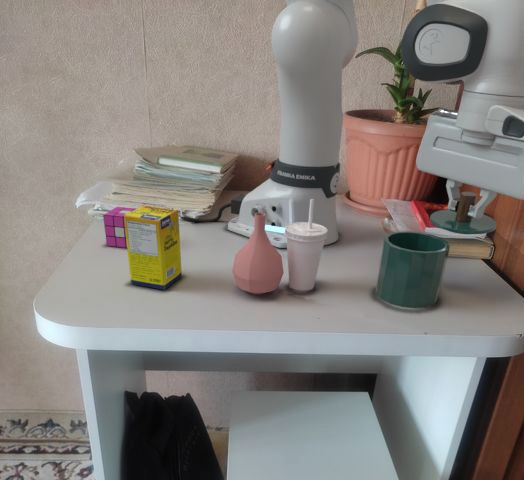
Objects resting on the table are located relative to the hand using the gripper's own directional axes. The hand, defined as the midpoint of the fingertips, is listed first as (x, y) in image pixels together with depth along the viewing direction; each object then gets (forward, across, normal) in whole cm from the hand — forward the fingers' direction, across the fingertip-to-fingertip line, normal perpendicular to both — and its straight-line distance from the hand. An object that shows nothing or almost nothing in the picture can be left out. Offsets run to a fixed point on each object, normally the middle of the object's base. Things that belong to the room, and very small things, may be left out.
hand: (464, 214), depth 79 cm
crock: (+12, +1, -10) cm, 16 cm away
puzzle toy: (+13, -43, -38) cm, 58 cm away
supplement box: (+13, -24, -41) cm, 49 cm away
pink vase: (+12, -13, -29) cm, 34 cm away
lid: (+1, 0, 0) cm, 1 cm away
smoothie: (+12, -10, -22) cm, 27 cm away
